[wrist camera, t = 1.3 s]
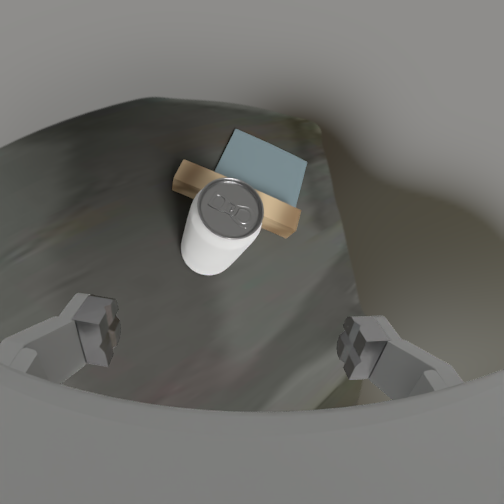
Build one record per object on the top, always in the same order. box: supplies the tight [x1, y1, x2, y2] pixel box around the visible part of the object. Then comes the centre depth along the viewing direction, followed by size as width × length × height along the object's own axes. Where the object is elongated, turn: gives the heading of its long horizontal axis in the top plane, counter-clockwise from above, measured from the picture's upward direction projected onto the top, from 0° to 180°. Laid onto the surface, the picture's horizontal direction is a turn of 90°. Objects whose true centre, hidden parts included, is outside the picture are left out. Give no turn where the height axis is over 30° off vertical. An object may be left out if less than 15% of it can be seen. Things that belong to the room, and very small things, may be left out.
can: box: [181, 177, 264, 275], centre depth 29 cm, size 6×6×12 cm
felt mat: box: [215, 129, 307, 207], centre depth 40 cm, size 12×10×1 cm
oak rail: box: [172, 160, 301, 238], centre depth 36 cm, size 16×3×3 cm, turn 72°
